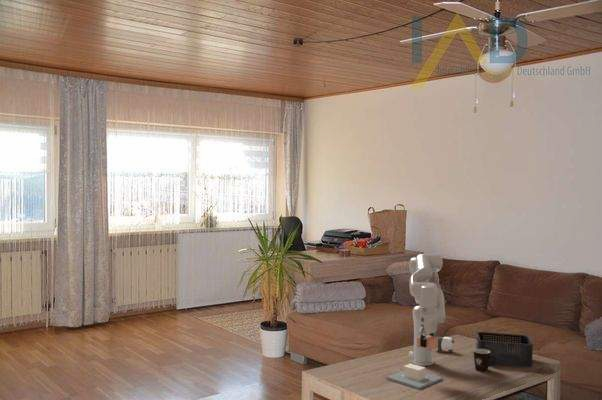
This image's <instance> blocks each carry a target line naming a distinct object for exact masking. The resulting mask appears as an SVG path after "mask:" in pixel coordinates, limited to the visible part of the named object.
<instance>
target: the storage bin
mask: <svg viewBox="0 0 602 400" xmlns="http://www.w3.org/2000/svg"><path fill="white" fill-rule="evenodd" d="M533 346H534V343H533V341H532V339H531V338H530V336H528V335H525V334H514V333H513V334H512V333H500V332H486V331H478V332H476V345H475V349H485V350H489V351H490V356H494V357H496V363H494V362H495V358H494V357H490V359H489V365H490V364H493V363H494V364H493V365H492V366H504V367H512V368H513V367H516V368H527V369H529V368H532V367H533V355H534V354H533V350H534V349H533Z"/></svg>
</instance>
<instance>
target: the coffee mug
mask: <svg viewBox="0 0 602 400" xmlns="http://www.w3.org/2000/svg"><path fill="white" fill-rule="evenodd" d="M490 357H494V356H490V351H489V350H487V349H486V350H485V349H476V348H475V349H473V359H474V369H475V371H477V372H480V373H487V372H489V367H490V366H494V365H493V364H494V363H496V357H494V358H495V362H494V363H493V364H490V365H489V359H490Z"/></svg>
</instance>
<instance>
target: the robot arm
mask: <svg viewBox="0 0 602 400" xmlns="http://www.w3.org/2000/svg"><path fill="white" fill-rule="evenodd" d="M408 266H409V273H410V275H411V276H410V278H409V286H408V287H409V293H410V295H411V297H414V300H415V302H416V304H417V305H415V306H414V307H413V308H412V318H413V351H409V352H408V356H409V357H411V359H410V363H411V364H414V365H418V366H422V367H425V366H426V367H427V366H432V365H435V360H434V359H433V358H432V349H427V348H420V347H417V337H418V336H419V337H420V346H422V347H426V336H427V335H429V336H435V335H437V334H436V333H437V331H438V324H443V323H444V322H446V321H445V320H446V307H445V295H444V292H443V290H442V289H441V288H439V287H438V285H437V284H436V283H435V282H430V279H431V278H432V277H433V274H434V273H438V272H440V271H441V270H442V268H443V256H441V255H440V254H438V253H420V254H418V255H417V256H415V257H411V258H410V260H409V261H408ZM423 335H424V336H423Z"/></svg>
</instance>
